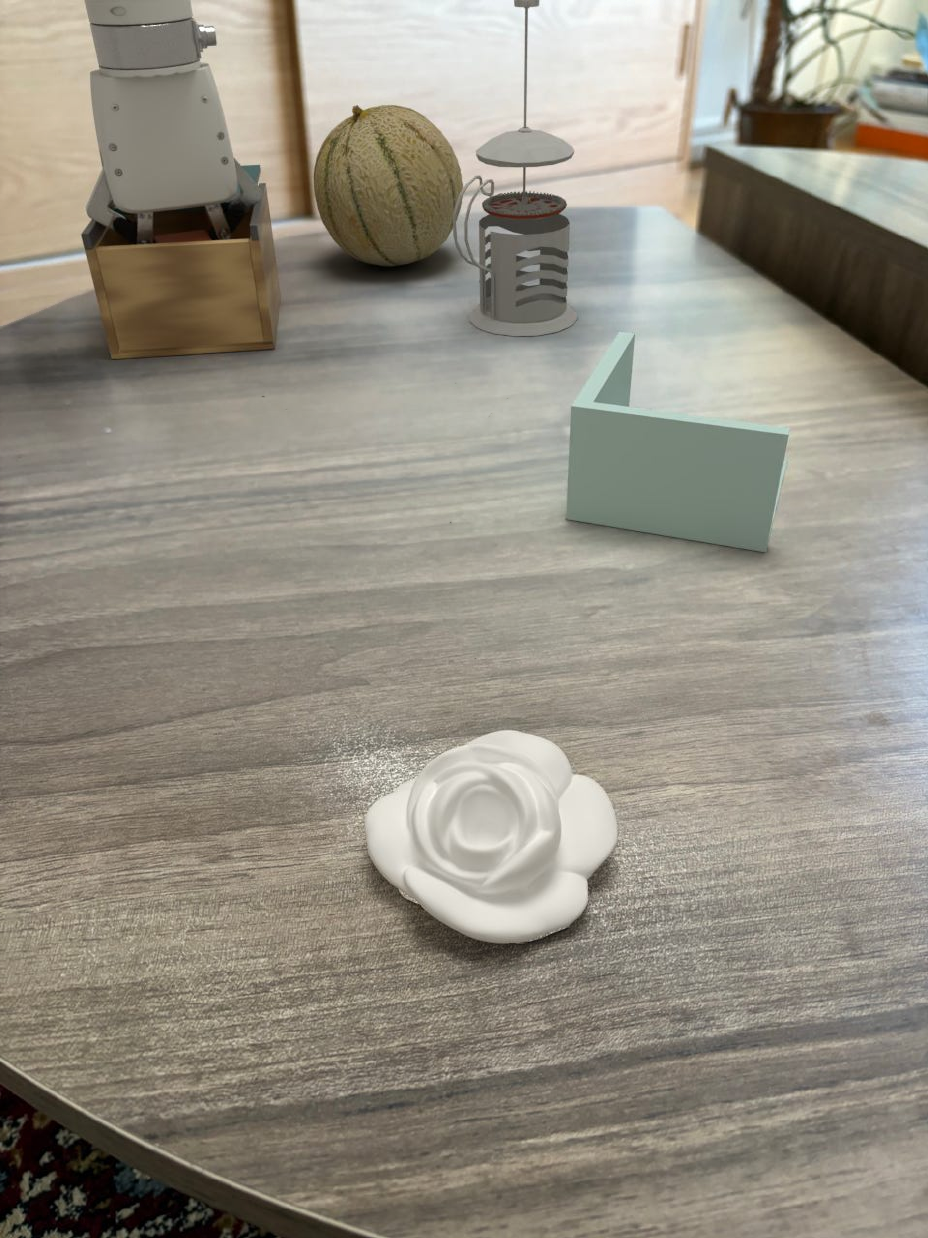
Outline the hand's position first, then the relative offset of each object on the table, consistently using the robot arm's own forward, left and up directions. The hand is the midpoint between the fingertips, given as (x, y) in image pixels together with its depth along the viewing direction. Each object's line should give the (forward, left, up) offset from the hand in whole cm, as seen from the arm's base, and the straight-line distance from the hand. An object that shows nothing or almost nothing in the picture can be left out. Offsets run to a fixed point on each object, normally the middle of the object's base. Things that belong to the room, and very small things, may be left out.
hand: (192, 287), depth 86 cm
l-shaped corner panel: (+34, -34, -4) cm, 48 cm away
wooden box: (0, +1, -4) cm, 4 cm away
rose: (+18, -62, -4) cm, 64 cm away
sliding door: (0, +10, +5) cm, 11 cm away
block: (0, 0, 0) cm, 0 cm away
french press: (+28, -2, -4) cm, 28 cm away
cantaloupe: (+18, +16, -4) cm, 25 cm away
